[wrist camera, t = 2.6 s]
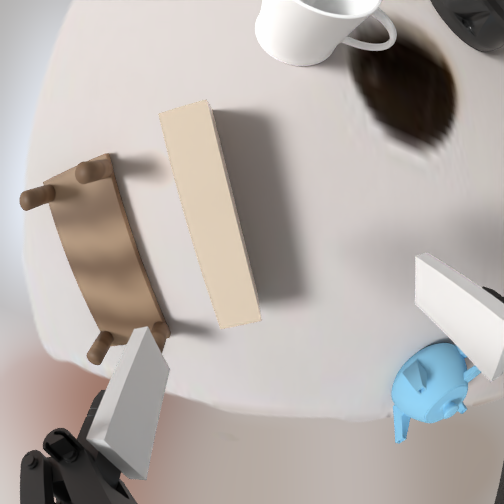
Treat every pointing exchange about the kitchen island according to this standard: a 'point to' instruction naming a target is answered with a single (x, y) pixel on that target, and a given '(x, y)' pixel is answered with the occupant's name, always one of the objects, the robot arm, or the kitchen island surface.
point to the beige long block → (211, 212)
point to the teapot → (430, 386)
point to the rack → (101, 253)
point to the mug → (315, 28)
